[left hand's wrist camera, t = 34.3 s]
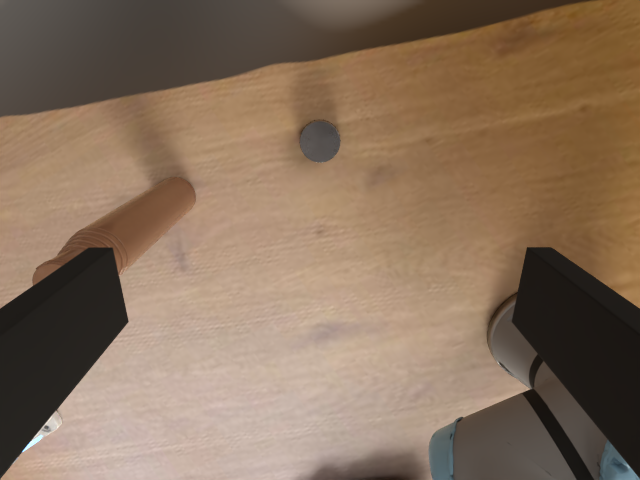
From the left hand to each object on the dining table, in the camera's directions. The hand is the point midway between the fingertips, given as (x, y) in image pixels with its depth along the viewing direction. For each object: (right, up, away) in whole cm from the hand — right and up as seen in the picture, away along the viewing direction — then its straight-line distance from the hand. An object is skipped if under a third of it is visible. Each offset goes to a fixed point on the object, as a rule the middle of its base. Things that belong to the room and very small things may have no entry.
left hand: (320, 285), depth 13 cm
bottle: (-18, +7, +37) cm, 42 cm away
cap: (0, +13, +32) cm, 35 cm away
